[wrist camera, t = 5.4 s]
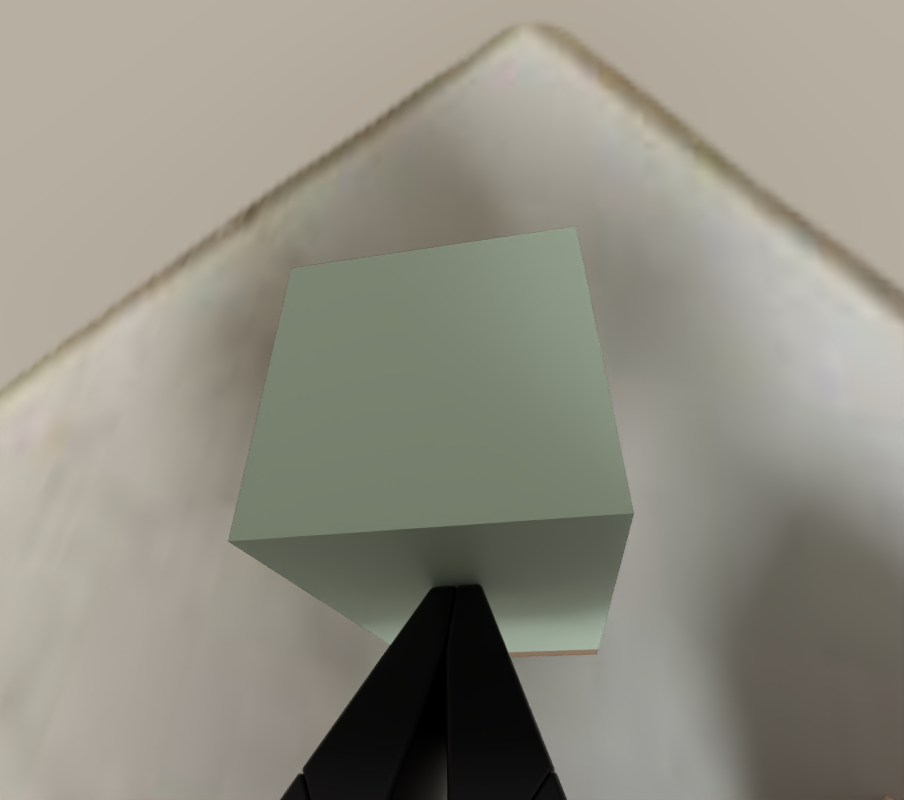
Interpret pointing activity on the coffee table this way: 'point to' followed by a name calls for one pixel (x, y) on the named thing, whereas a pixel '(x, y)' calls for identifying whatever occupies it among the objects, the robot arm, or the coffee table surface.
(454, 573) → the sage block
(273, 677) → the coffee table surface
